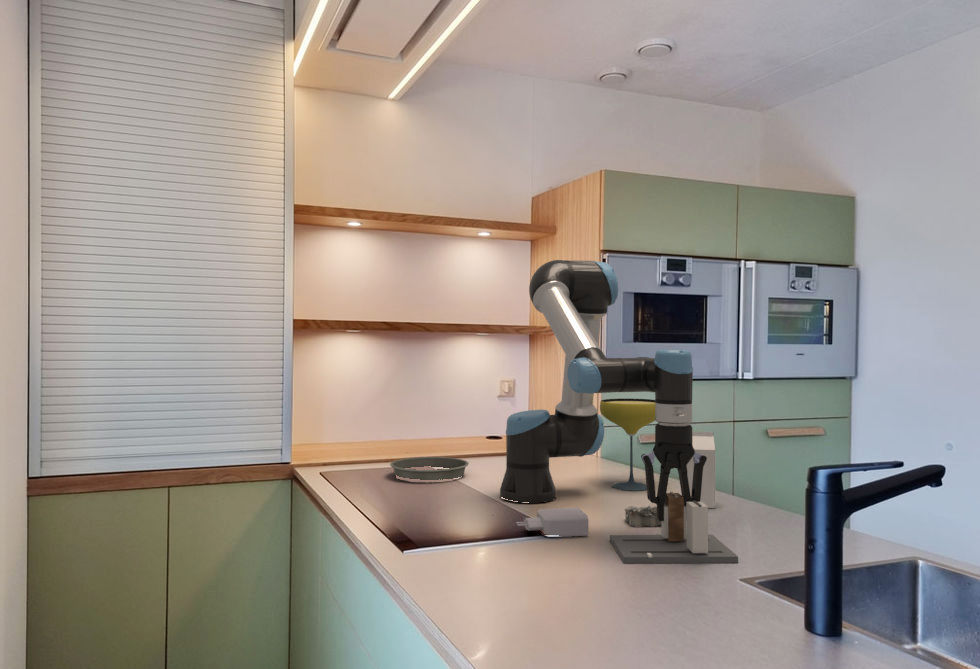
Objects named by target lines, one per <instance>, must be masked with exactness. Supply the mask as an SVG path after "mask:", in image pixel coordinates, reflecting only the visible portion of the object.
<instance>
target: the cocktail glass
mask: <svg viewBox="0 0 980 669" xmlns="http://www.w3.org/2000/svg"><path fill="white" fill-rule="evenodd" d="M599 411H600V414H601V415H602V416H603V417H604V418H605V419H606V420H608V421H609V422H611V423H613V424H615V425H617V426H618V427H620V428H621V429H623V430H624V432H625V433H626V435H628V436H629V438H630V440H629V441H630V442H629V443H630V444H629V445H630V447H629V448H630V452H629V454H630V455H629V461H630V462H629V477H628V480H627V481H623V482H622V481H621V482H616V483H613V484H612V487H613V489H616V490H619V489H620V491H625V490H628V492H642V491H643V492H644V491H647V485H646V483H643V482H636V481H635V477H634V466H633V465H634V464H633V463H634V461H633V460H634V459H633V458H634V456H633V437H634V436H635V435H636V434H638V432H639V430H641V429H642V428H644V427H645V426H647V425H650V424H652V423H654V422H656V421H655V399H647V398H607V399H602V400H600V402H599Z"/></svg>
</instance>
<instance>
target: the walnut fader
mask: <svg viewBox="0 0 980 669" xmlns="http://www.w3.org/2000/svg"><path fill="white" fill-rule="evenodd" d="M665 504H666V505H667V506H668V538H667V539H668V540H669V541H684V497H683V496H682V494H680V493H679V492H673V491H670V492H666V498H665Z"/></svg>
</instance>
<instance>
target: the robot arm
mask: <svg viewBox="0 0 980 669" xmlns="http://www.w3.org/2000/svg"><path fill="white" fill-rule="evenodd" d="M528 289H529V290H528V292H529V298H530V301H531V304H532V305H533V307H534V309H535V310H536V311H537V312H539V313H541V314H543V316H544V318H545V320H546V322H547V323H548V326H549V327H550V329H551V331H552V333H553V334H554V336H555V338H556V340H557V341H558V343H559V345H560V347H561V349H562V350H563V352H564V356H565V357H564V369H563V380H562V389H561V390H562V393H561V400H560V402H558V403H557V404H556V405H555V407H554V408H555V410H554V414H550V411H549V410H547V409H529V410H524V411H518V412H515V413H514V412H513V414H511V415H509V416H508V418H507V420H506V429H505V435H506V437H505V438H506V439H505V440H506V442H505V444H506V448H505V449H506V450H505V451H506V457H505V458H506V460H505V461H506V465H505V466H506V467H505V468H506V470H505V472H504V475H503V480H502V482H501V486H500V487H499V491H500V492H499V497H500V496H501V497H503V498H505V499H508V500H513V501H518V502H529V503H528V504H539V503H538V502H544V503H549V502H551V501H554V500H555V499H556V496H557V495H556V494H557V492H556V491H557V490H556V486H555V483H554V481H553V477H552V474H551V470H550V458H565V457H566V458H567V457H585V456H591V455H594V454H596V452H598V451H599V450H600V448H601V446H602V445H603V441H604V438H605V427H604V420H603V418H602V417H601V415H600V414H599V413H598V409H597V408H596V406H595V405H594V394H606V393H611V394H612V393H641V392H647V393H654V395H655V396H654V400H655V421H654V422H657V423H656V424H655V425H654V426H655V427H654V433H655V434H654V446H653V449H652V451H650V452H648V453H642V454H641V456H640V457H641V460H642V462H643V464H644V471H645V481H646V482H645V484H646V485H647V490H646V494H647V497H646V498H647V499H648V501H649V502H650V503H652V504H656V507H657V519H658V520H659V521H661V525H660V526H661V530H660V531H661V534H660V535H662V536H663V537H664V538H668V506H667V505H666V504H665V498H666V493H668V492H667V491H668V490H667V489H668V485H669V479H670V478H669V477H670V473H671V470H672V469H676V470H677V473H678V479H679V486H680V492H681V495H682V496H683V497H684V538H686V535H687V509H686V502H693V500H695V501H697V502H700V499H701V487H702V476H703V467H704V464H705V462H706V460H707V457H706V456H704V455H702V454H698V453H696V452H695V450H694V448H693V445H692V432H693V426H692V425H691V423H692V422H693V377H694V375H693V371H694V368H693V359H692V358H693V355H692V352H691V351H690V350H688V349H657V350H656V352H655V354H654V358H653V357H648V356H637V357H607V356H606V355H605V353H604V352H603V351H602V349H601V347H600V345H599V344H600V343H599V339H600V330H601V320H602V319H603V317H605V316H606V315H607V314H608V307H610V306H612V305H614V304H615V303H616V300H617V299H618V294H619V282H618V278H617V275H616V273H615V270H614V268H613V267H612V266H611V265H610V264H609V263H607V262H603V261H598V260H597V261H595V260H567V259H566V260H563V259H553V260H550V261H547V262H545V263H543V264H542V265H541V266H539V268H537V269H536V271H535V272H534V273H533V275H532V276H531V279H530V283H529V286H528ZM692 457H693V461H694V462H695V463H694V470H693V482H692V494H691V495H690V489H689V482H688V476H687V464H688V463H689V461H690V460H691V458H692ZM655 458H656V460H657V461H658V463H660V466H659V467H660V473H659V479H658V485H657V486H658V487H657V492H656V483H655V474H654V473H655V472H654V463H655ZM548 501H549V502H548Z"/></svg>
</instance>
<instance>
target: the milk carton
mask: <svg viewBox="0 0 980 669" xmlns="http://www.w3.org/2000/svg"><path fill="white" fill-rule="evenodd" d="M692 445H693V448H694V450H695V452H696V453H698V454H702V455H704V456H706V457H707V460H706V462H705V464H704V467H703V476H702V487H701V499H700V502H702V503H704V504H705V505H706V506H708V509H716V445H715V435H714V431H692ZM694 463H695V462H694V461H693V457H692V458H691V460H690V461H689V463H688V464H687V476H688V482H689V489H690V495H691V494H692V482H693V470H694Z"/></svg>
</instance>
